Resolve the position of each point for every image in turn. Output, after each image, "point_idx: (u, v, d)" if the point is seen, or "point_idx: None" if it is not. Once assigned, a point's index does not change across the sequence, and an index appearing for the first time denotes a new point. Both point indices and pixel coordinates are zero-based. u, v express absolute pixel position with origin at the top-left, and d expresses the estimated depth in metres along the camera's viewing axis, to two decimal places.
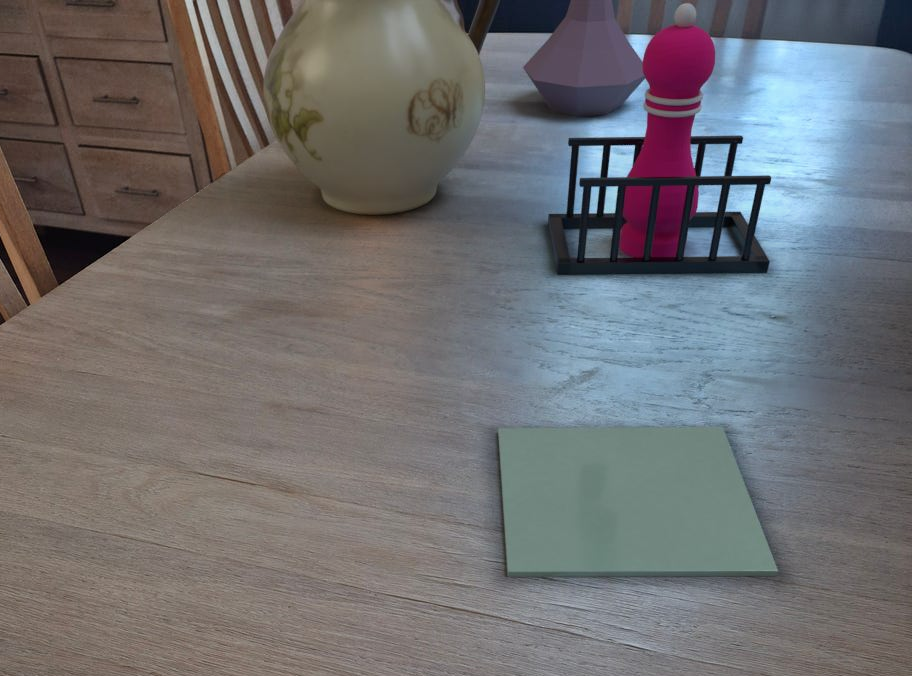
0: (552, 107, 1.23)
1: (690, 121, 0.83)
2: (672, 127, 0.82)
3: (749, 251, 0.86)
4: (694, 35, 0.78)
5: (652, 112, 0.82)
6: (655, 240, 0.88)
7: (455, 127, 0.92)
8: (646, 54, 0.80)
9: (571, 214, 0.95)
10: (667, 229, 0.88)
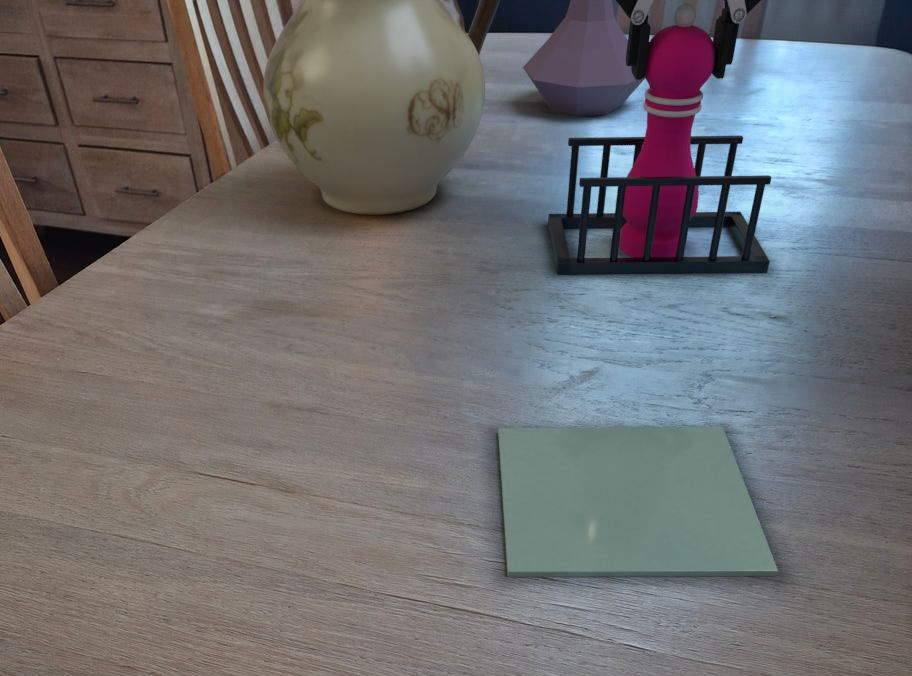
0: (552, 107, 1.23)
1: (690, 121, 0.83)
2: (672, 127, 0.82)
3: (749, 251, 0.86)
4: (694, 35, 0.78)
5: (652, 112, 0.82)
6: (655, 240, 0.88)
7: (455, 127, 0.92)
8: None
9: (571, 214, 0.95)
10: (667, 229, 0.88)
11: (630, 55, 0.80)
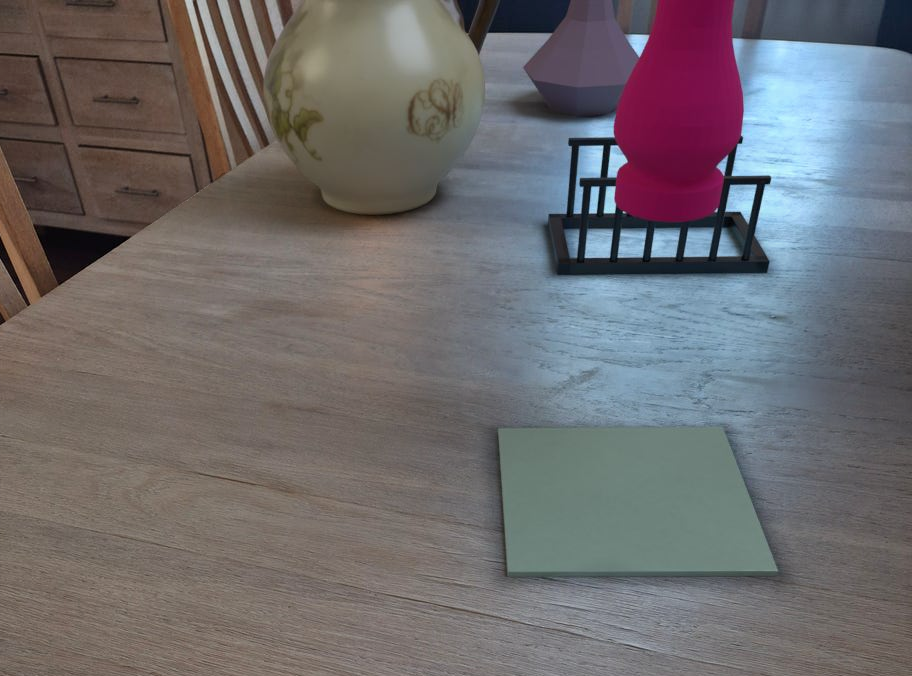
0: (552, 107, 1.23)
1: None
2: None
3: (749, 251, 0.86)
4: None
5: None
6: (672, 188, 0.54)
7: (455, 127, 0.92)
8: None
9: (571, 214, 0.95)
10: (692, 169, 0.54)
11: None
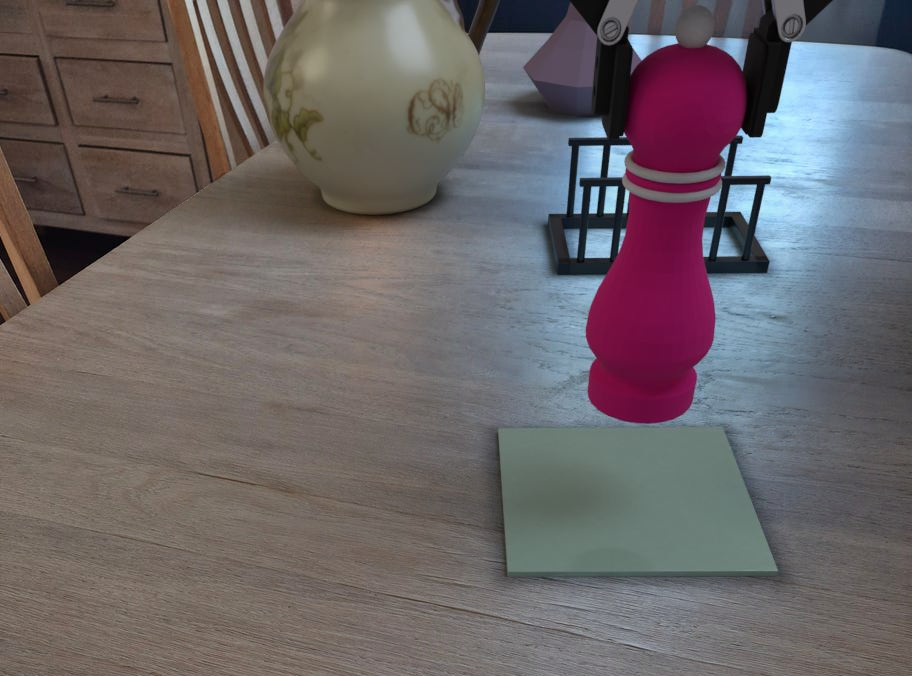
0: (552, 107, 1.23)
1: (702, 207, 0.48)
2: (671, 218, 0.48)
3: (749, 251, 0.86)
4: (711, 62, 0.44)
5: (637, 193, 0.48)
6: (644, 394, 0.54)
7: (455, 127, 0.92)
8: None
9: (571, 214, 0.95)
10: (664, 377, 0.53)
11: (598, 97, 0.45)
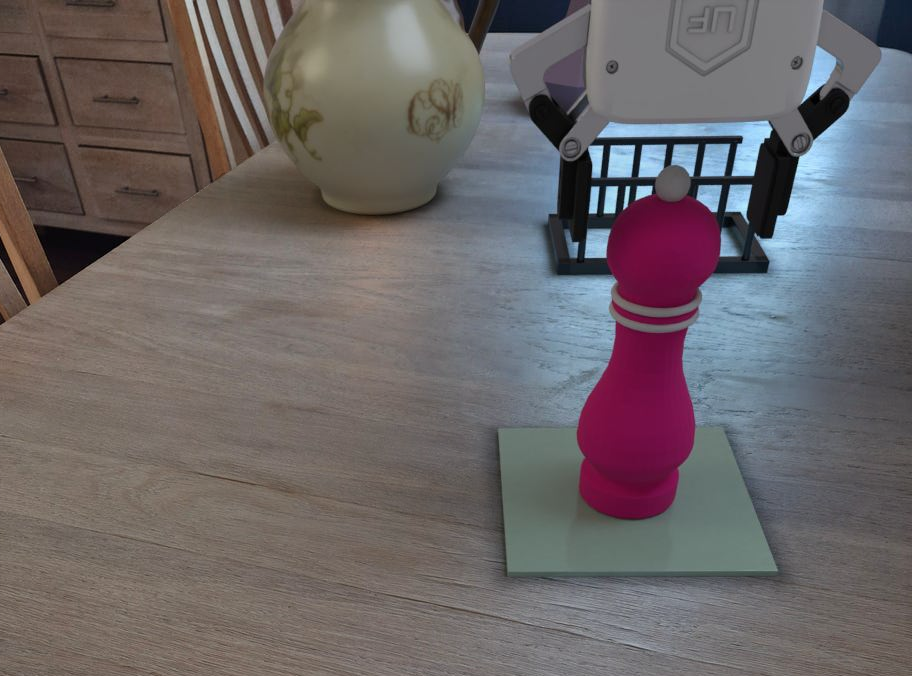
0: None
1: (681, 335, 0.53)
2: (653, 345, 0.53)
3: (749, 251, 0.86)
4: (687, 216, 0.48)
5: (622, 323, 0.53)
6: (630, 493, 0.59)
7: (455, 127, 0.92)
8: (611, 239, 0.51)
9: None
10: (648, 479, 0.58)
11: (562, 205, 0.49)
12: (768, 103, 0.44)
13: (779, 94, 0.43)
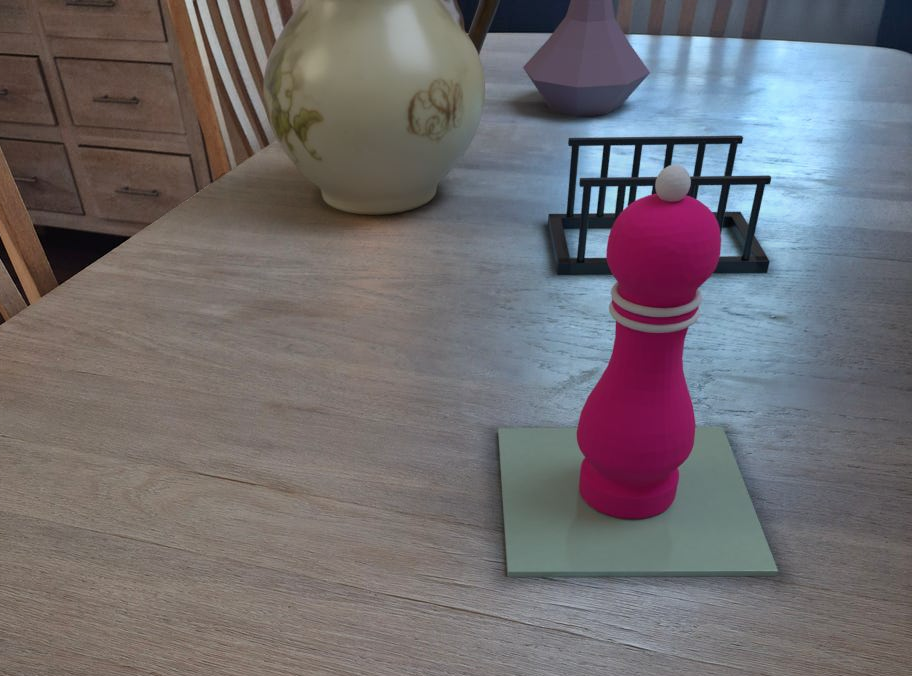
0: (552, 107, 1.23)
1: (681, 335, 0.53)
2: (654, 345, 0.53)
3: (749, 251, 0.86)
4: (687, 216, 0.48)
5: (622, 323, 0.53)
6: (630, 493, 0.59)
7: (455, 127, 0.92)
8: (611, 239, 0.51)
9: (571, 214, 0.95)
10: (648, 479, 0.58)
11: None
12: None
13: None
